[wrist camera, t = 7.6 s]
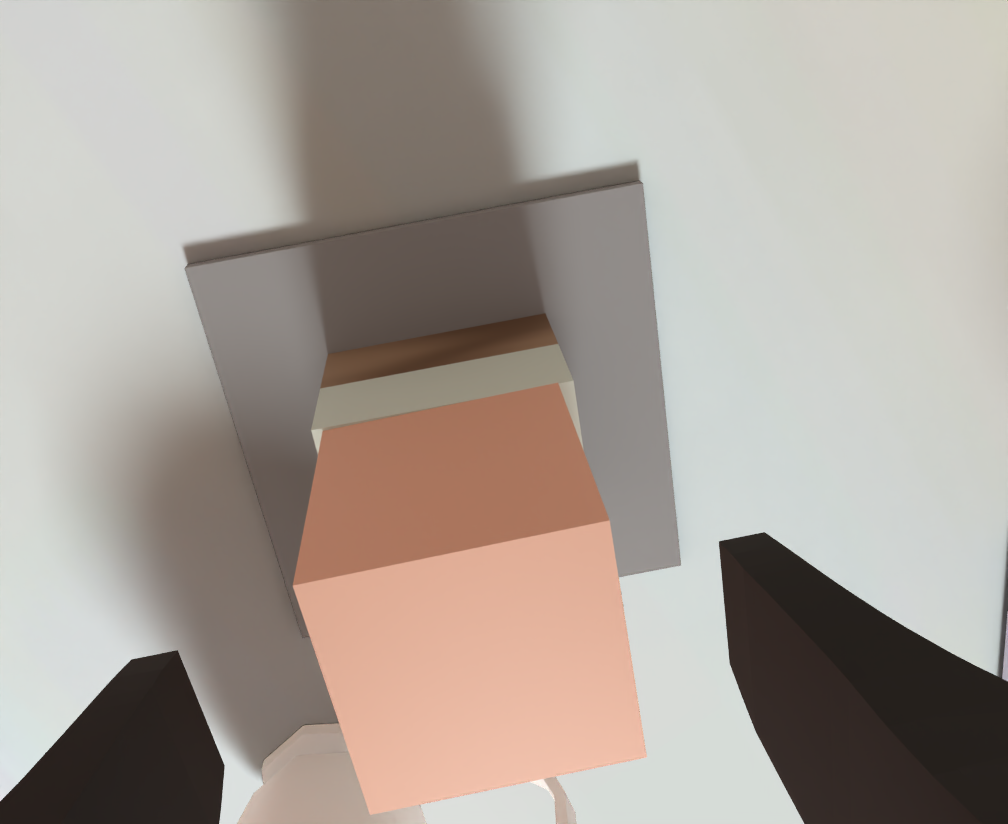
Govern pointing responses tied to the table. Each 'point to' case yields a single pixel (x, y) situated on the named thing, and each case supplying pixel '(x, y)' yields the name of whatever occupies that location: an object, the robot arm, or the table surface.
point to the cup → (335, 786)
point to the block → (467, 600)
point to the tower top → (443, 388)
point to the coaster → (447, 307)
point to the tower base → (437, 350)
